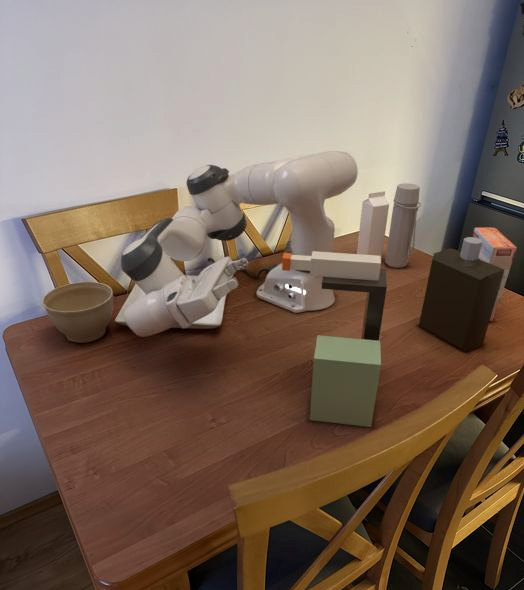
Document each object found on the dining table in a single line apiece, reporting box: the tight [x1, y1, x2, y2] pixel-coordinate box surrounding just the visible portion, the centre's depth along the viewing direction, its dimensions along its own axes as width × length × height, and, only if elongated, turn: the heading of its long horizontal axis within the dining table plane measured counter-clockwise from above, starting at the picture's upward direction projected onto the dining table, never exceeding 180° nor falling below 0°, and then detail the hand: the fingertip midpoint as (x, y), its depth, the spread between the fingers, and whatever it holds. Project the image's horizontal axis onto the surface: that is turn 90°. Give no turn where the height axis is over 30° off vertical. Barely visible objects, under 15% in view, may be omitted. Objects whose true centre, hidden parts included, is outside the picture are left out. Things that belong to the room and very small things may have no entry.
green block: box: [309, 334, 382, 428], centre depth 95 cm, size 12×8×15 cm, turn 80°
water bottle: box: [384, 182, 422, 269], centre depth 151 cm, size 9×8×25 cm
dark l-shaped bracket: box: [322, 268, 388, 341], centre depth 102 cm, size 12×8×25 cm, turn 80°
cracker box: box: [471, 226, 517, 322], centre depth 128 cm, size 14×6×21 cm, turn 178°
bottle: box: [418, 236, 504, 353], centre depth 116 cm, size 8×16×25 cm, turn 33°
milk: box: [356, 191, 390, 260], centre depth 156 cm, size 6×6×22 cm
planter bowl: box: [42, 281, 114, 344], centre depth 121 cm, size 16×16×11 cm
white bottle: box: [281, 251, 382, 281], centre depth 94 cm, size 18×4×4 cm, turn 80°
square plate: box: [114, 274, 228, 330], centre depth 134 cm, size 27×27×4 cm
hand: (241, 271), depth 98 cm, fingers open, 8 cm apart
